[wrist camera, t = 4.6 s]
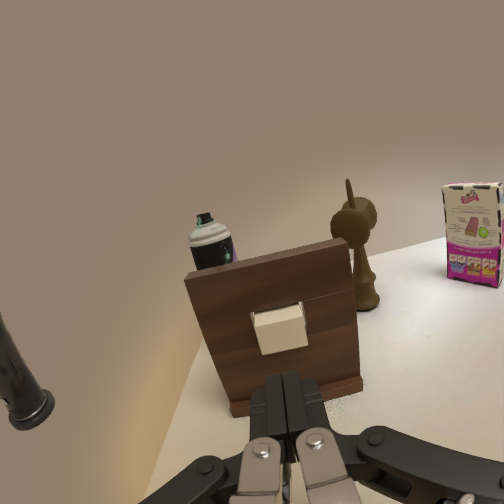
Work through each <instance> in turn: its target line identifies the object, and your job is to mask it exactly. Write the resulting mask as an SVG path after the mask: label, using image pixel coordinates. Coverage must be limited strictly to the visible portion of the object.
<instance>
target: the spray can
mask: <svg viewBox="0 0 504 504" xmlns="http://www.w3.org/2000/svg"><path fill="white" fill-rule="evenodd" d="M197 218H198V222H197V225H196V226H195V228H196V229H195V230H194V231H193V232H192V234H191V235H190V236H189V237H188V238H189V240H190V242H189V245H190V248H191V252H192V255H193V258H194V262H195V265H196V268H197V271H198V270H203V269H207V268H211V267H216V266H220V265H224V264H229V263H233V262H237V258H236V253H235V250H234V246H233V242H232V238H231V235H230V232H229V231H228V230H227V229H228V227H227V226H224V225H222V224H219V223H216V220H213V218H211V215H210V213H205V214H199V215H197Z"/></svg>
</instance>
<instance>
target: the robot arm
mask: <svg viewBox="0 0 504 504" xmlns="http://www.w3.org/2000/svg"><path fill="white" fill-rule="evenodd" d="M282 376H283V378H282ZM0 402H1V403H3V404H4V406H5V407H6V408H7V410H8V411H9V413H10V414H11V416H12V417H13V419H14V420H15V421H18V422H25V421H28V420H30V419H32V418H34V417H35V416H37V415H38V414H39V413H40V412H41V411H42V410H43V408H44V407H45V405H46V403H47V396H46V394H45V393H44V392H43V391H42V389H41V388H40V386H39V385H38V383H37V381H36V380H35V378H34V376H33V375H32V373H31V372H30V370H29V368H28V366H27V365H26V363H25V361H24V359H23V357H22V356H21V354H20V352H19V350H18V348H17V346H16V344H15V342H14V340H13V338H12V336H11V334H10V332H9V330H8V328H7V326H6V324H5V322H4V319H3V317H2V315H1V312H0ZM250 414H251V415H250V439H249V443H248V444H247V445H246V446H245V448H244V451H242V452H241V453H240V454H238V455H236V456H233V457H230V458H227V459H224V460H221V459H220V458H218V457H215V456H203V457H200V458H198V459H196V460H195V461H193V462H192V463H191V464H190V465H189V466H187V467H186V468H185V469H184V470H183V471H181V472H180V473H179V474H178V475H176V476H175V477H174V478H172V479H171V480H170V481H169V482H167V483H166V484H165V485H163V486H162V487H161V488H159V489H158V490H157V491H155V492H154V493H153V494H151V495H150V496H148V497H147V498H146V499H144V500H143V501H141V502H140V503H138V504H292V477H291V463H296V457H297V461H298V462H300V465H301V469H302V473H303V478H304V482H305V486H306V492H307V497H308V501H309V504H362V502H361V500H360V497H359V494H358V492H357V489H356V486H355V484H354V481H358V482H359V483H361V484H362V485H364V486H366V487H368V488H370V489H372V490H374V491H377V492H379V493H381V494H383V495H385V496H387V497H390V498H392V499H394V500H396V501H399V502H401V503H404V504H504V462H499V461H494V460H490V459H485V458H481V457H477V456H473V455H469V454H465V453H462V452H458V451H455V450H451V449H448V448H445V447H441V446H438V445H435V444H432V443H429V442H426V441H423V440H420V439H417V438H415V437H412V436H409V435H406V434H404V433H401V432H398V431H396V430H393V429H391V428H388V427H385V426H373V427H369V428H367V429H365V430H364V431H363V432H362V433H361V434H360V435H342V434H339V433H336V432H335V431H334V430H333V429H332V428H331V427H330V424H329V421H328V417H327V413H326V410H325V406H324V402H323V398H322V395H321V391H320V388H319V384H318V383H317V382H316V381H315V380H314V379H313V378H312V377H311V378H307V379H302V380H300V377H299V372H298V369H297V370H293V371H288V372H283V373H282V374H281V373H279V374H274V375H269V376H265V387H263V388H258V389H255V391H254V392H253V394H252V396H251V408H250ZM295 454H296V456H295Z"/></svg>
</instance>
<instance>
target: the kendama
mask: <svg viewBox="0 0 504 504" xmlns="http://www.w3.org/2000/svg"><path fill="white" fill-rule="evenodd" d="M346 190H347V196H348V201H346V202H345V203H344V204H343V207H342V209H341V210H340V211H338V212H337V213H336V214H335V215H333V217H332V220H331V224H330V225H331V234H332V237H333V239H336V238H340V237H341V238H342V239H344V240H345V241H347V242H348V248H349V249H354V266H353V273H352V277H353V285H354V294H355V303H356V309H357V310H367V309H371V308H374V307H375V306H376V305H377V304H378V303H379V301H380V298H379V295H378V294H377V293H376V291H375V288H374V281H375V279H376V275H375V274H374V273H373V272H372V271H371V269H370V266H369V263H368V260H367V256H366V252H365V249H364V244H365V243H366V242H367V241H368V239H369V236H370V230H371V229H373V228H374V226H375V224H376V222H377V213H376V210H375V206H374V205H373V204H372V202H371V201H370V200H368V199H366V198H362V197H355V198H354V197H353V192H352V188H351V184H350V181H349V179H346Z"/></svg>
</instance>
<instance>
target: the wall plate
mask: <svg viewBox="0 0 504 504" xmlns="http://www.w3.org/2000/svg"><path fill="white" fill-rule="evenodd" d="M184 282H185V285H186V288H187V291H188V294H189V297H190V300H191V303H192V306H193V309H194V312H195V314H196V317H197V320H198V322H199V326H200V328H201V331H202V334H203V336H204V339H205V342H206V344H207V347H208V350H209V352H210V355H211V357H212V360H213V362H214V365H215V367H216V370H217V372H218V375H219V377H220V380H221V382H222V384H223V387H224V389H225V391H226V394H227V396H228V398H229V401H230V411H231V413H232V415H233V417H234V418H235V417H243V416H250V415H251V414H250V408H251V396H252V394H253V392H254V391H255V389H258V388H263V387H265V376H269V375H274V374H279V373H281V374H282V373H283V372H288V371H293V370H297V369H298V372H299V377H300V380H302V379H307V378H311V377H312V378H313V379H314V380H315V381H316V382H317V383H318V384H319V388H320V391H321V395H322V398H323V401H327V400H331V399H335V398H338V397H342V396H346V395H349V394H352V393H356V392H359V391H362V390H363V380H362V378H361V376H360V358H359V340H358V326H357V314H356V303H355V294H354V285H353V277H352V269H351V262H350V255H349V248H348V242H347V241H345V240H344V239H342V238H341V237H340V238H336V239H332V240H327V241H323V242H319V243H315V244H311V245H306V246H302V247H298V248H293V249H289V250H285V251H281V252H276V253H272V254H268V255H264V256H259V257H255V258H251V259H246V260H242V261H237V262H233V263H229V264H224V265H220V266H216V267H211V268H207V269H203V270H198V271H194V272H190V273H188V275H187V276H186V278H185V279H184ZM300 301H301V305H302V310H303V315H304V321H305V330H306V335H307V341H308V345H307V346H303V347H299V348H294V349H290V350H285V351H281V352H276V353H271V354H266V355H262V353H261V349H260V346H259V342H258V339H257V335H256V332H255V328H254V316H253V312H256V311H261V310H265V309H270V308H274V307H279V306H283V305H288V304H292V303H296V302H300ZM282 378H283V376H282Z"/></svg>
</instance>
